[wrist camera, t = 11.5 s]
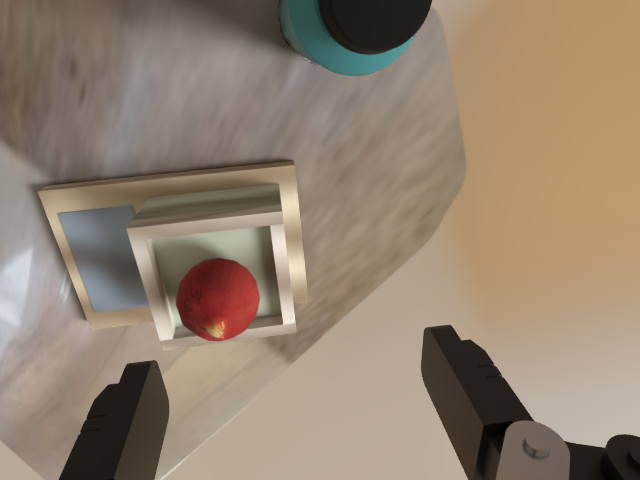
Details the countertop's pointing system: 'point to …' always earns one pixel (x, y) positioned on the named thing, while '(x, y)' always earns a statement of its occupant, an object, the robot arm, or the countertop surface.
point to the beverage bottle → (352, 31)
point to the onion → (217, 299)
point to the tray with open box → (180, 243)
